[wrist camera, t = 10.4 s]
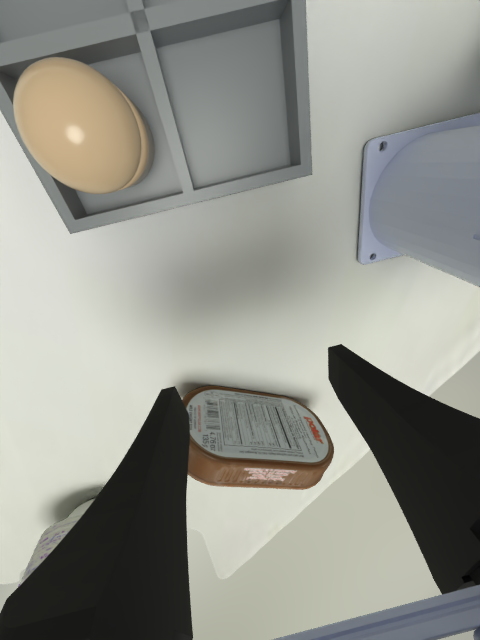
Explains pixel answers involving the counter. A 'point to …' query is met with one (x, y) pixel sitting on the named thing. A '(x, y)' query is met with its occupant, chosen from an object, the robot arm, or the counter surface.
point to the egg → (82, 127)
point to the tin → (254, 440)
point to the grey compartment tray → (177, 92)
